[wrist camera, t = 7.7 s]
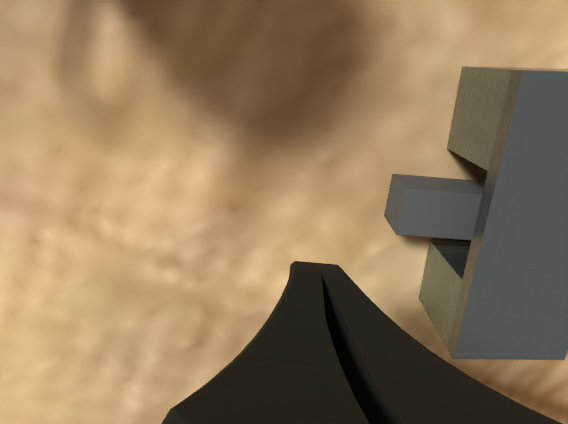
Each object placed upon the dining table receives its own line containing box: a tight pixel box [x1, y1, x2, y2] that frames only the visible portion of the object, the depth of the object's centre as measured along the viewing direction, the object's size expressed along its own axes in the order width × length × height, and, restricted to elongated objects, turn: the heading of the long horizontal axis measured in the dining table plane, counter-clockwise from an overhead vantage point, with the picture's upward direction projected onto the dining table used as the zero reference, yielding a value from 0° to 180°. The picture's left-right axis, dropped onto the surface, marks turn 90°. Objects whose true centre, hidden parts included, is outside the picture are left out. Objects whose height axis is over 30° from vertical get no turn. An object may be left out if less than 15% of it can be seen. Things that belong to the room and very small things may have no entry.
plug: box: [384, 174, 485, 240], centre depth 18 cm, size 12×3×3 cm, turn 85°
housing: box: [419, 67, 568, 360], centre depth 17 cm, size 12×5×4 cm, turn 179°
